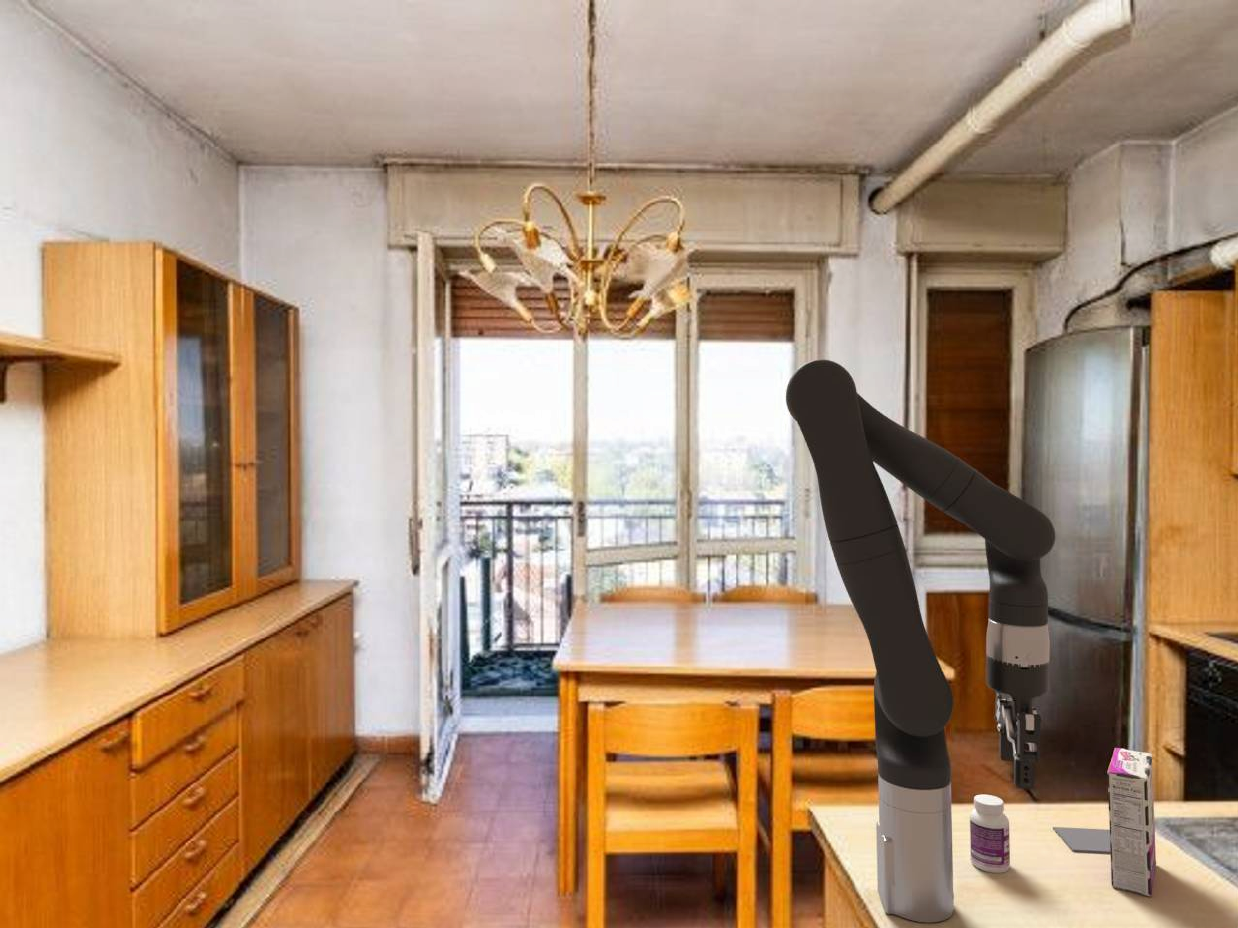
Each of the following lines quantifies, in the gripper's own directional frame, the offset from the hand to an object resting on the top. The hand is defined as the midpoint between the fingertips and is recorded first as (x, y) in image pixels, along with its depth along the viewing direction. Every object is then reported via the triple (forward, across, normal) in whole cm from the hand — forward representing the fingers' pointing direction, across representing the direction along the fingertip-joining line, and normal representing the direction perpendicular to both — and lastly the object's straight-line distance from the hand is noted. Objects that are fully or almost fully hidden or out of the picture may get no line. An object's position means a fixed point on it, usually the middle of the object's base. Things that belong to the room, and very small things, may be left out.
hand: (1015, 773), depth 104 cm
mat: (+18, -21, +17) cm, 33 cm away
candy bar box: (+18, -11, +18) cm, 28 cm away
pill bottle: (+18, -10, -1) cm, 21 cm away
